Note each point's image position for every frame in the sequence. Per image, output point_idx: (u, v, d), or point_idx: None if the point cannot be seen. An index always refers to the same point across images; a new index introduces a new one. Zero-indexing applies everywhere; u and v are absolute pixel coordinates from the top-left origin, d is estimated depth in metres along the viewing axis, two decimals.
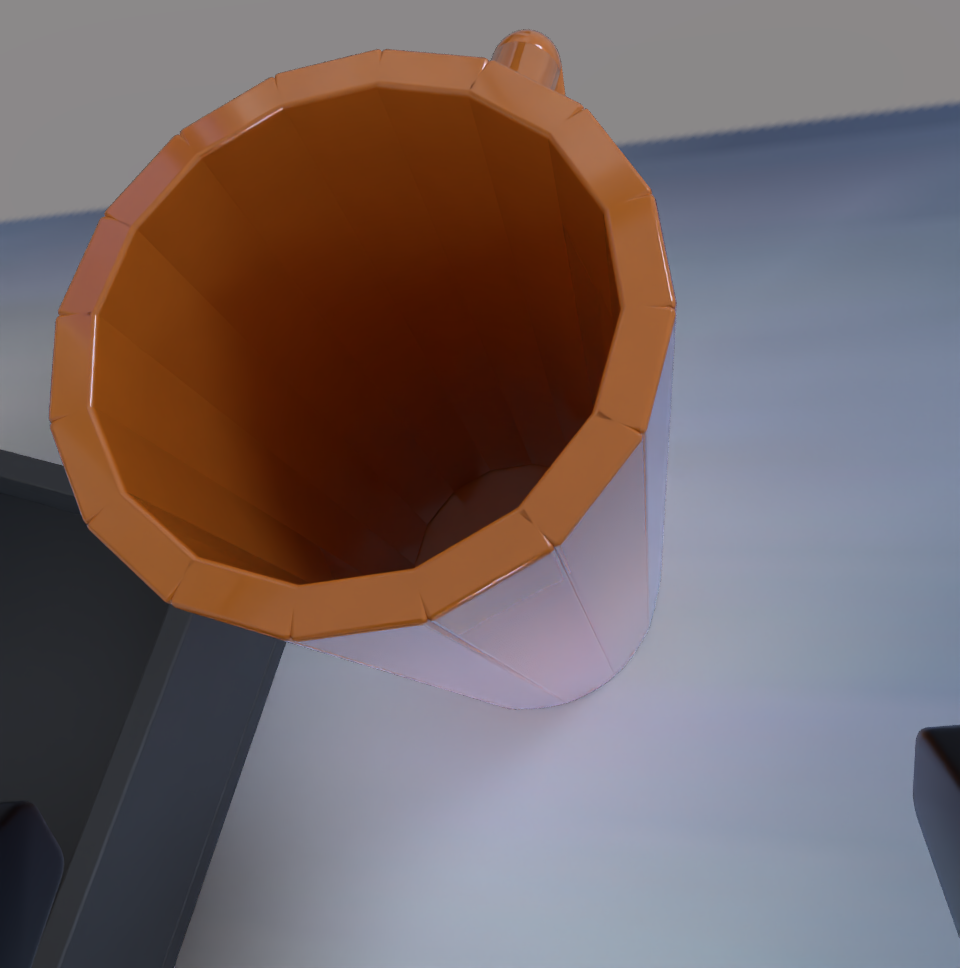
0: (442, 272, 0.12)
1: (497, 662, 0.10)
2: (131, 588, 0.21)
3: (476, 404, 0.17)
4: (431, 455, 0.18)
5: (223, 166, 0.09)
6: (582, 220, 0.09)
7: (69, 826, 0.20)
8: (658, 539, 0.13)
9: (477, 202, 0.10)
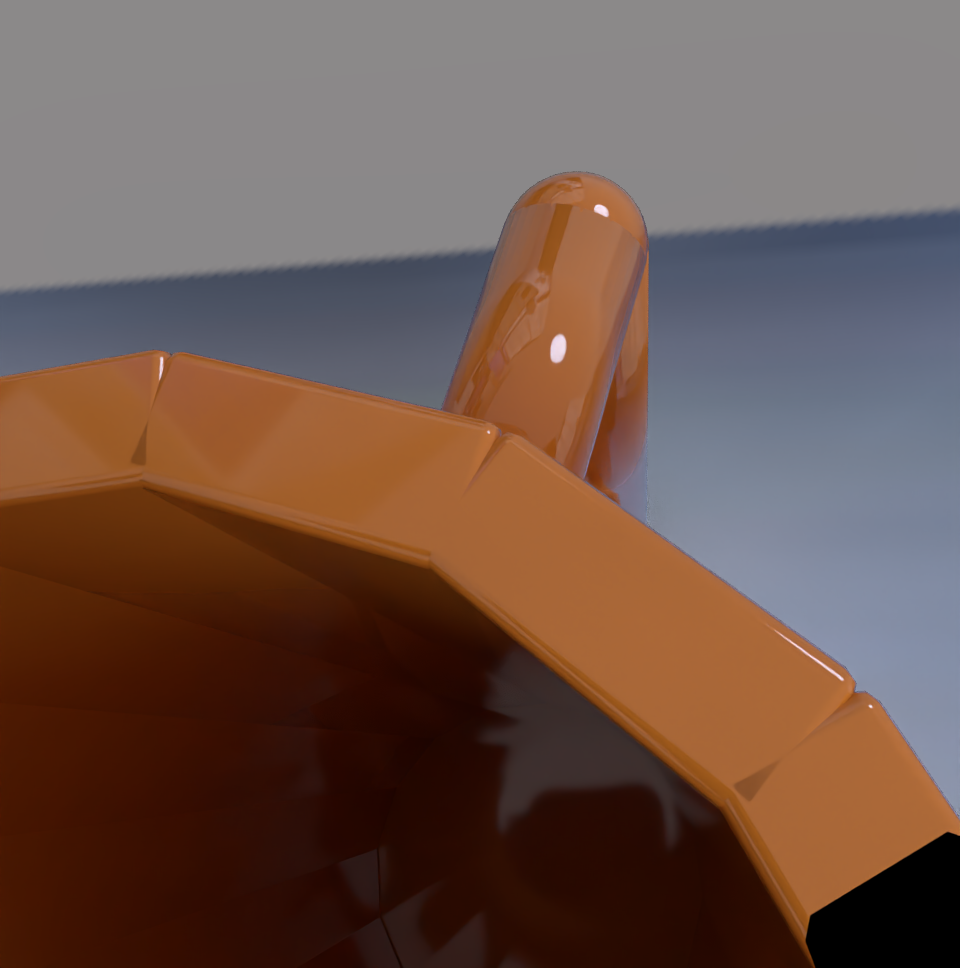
0: (399, 636, 0.06)
1: None
2: None
3: (467, 689, 0.11)
4: (399, 732, 0.12)
5: None
6: None
7: None
8: None
9: (464, 628, 0.04)
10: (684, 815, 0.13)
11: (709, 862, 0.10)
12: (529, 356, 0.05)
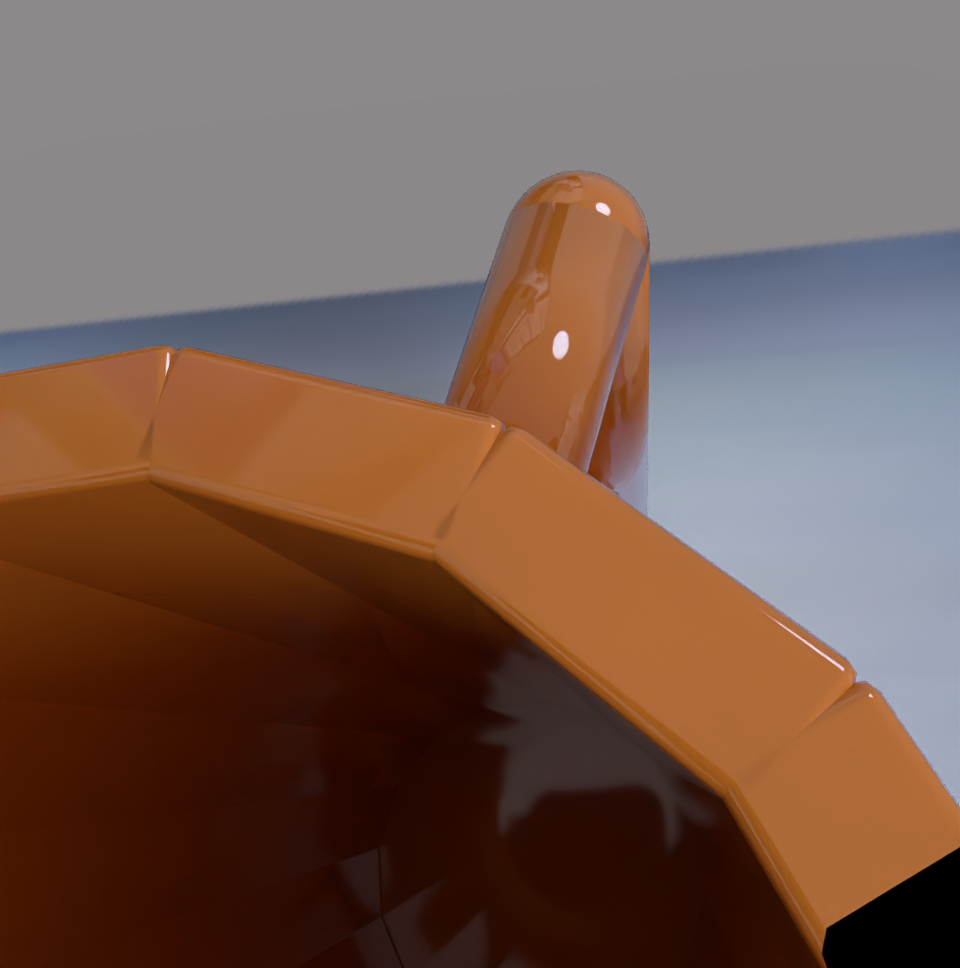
0: (401, 633, 0.06)
1: None
2: None
3: (468, 688, 0.11)
4: (400, 731, 0.12)
5: None
6: (805, 963, 0.03)
7: None
8: None
9: (466, 624, 0.04)
10: (685, 815, 0.13)
11: (710, 861, 0.10)
12: (531, 354, 0.05)
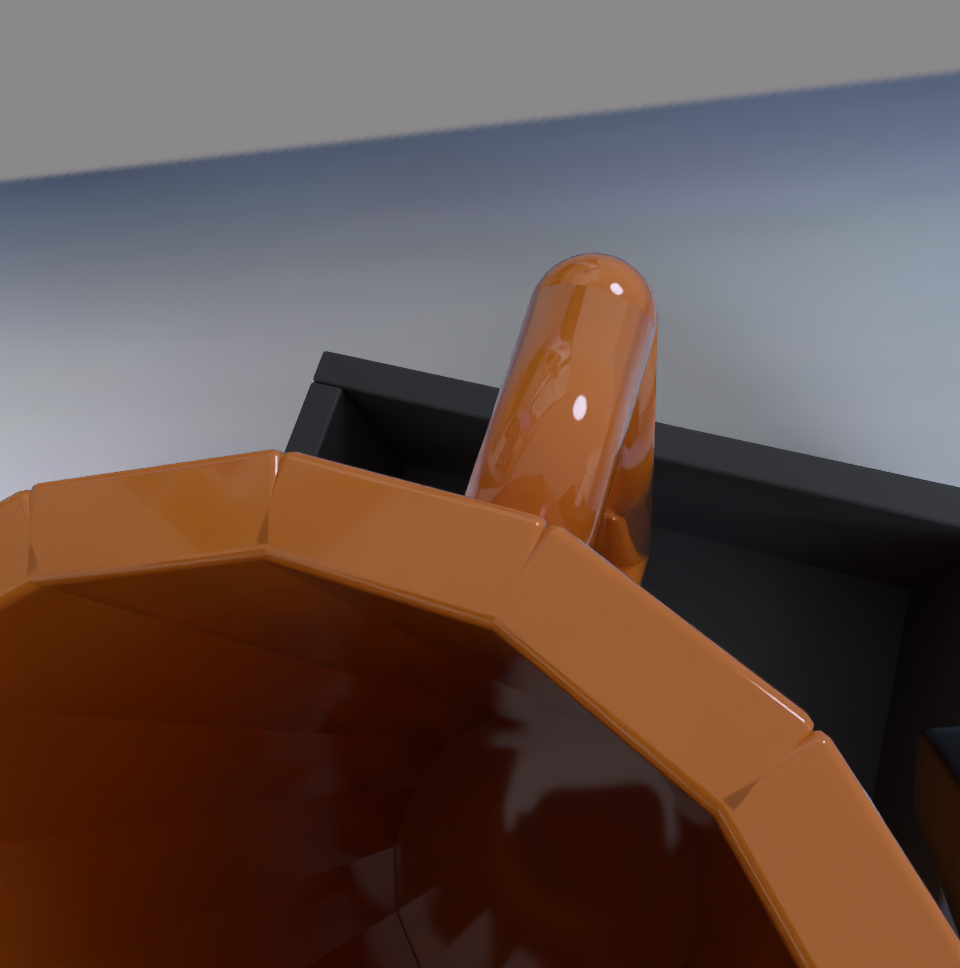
0: (432, 657, 0.07)
1: None
2: (684, 611, 0.16)
3: (483, 699, 0.11)
4: (418, 737, 0.13)
5: None
6: (776, 943, 0.03)
7: None
8: None
9: (500, 659, 0.05)
10: (685, 817, 0.14)
11: (708, 861, 0.11)
12: (554, 421, 0.06)
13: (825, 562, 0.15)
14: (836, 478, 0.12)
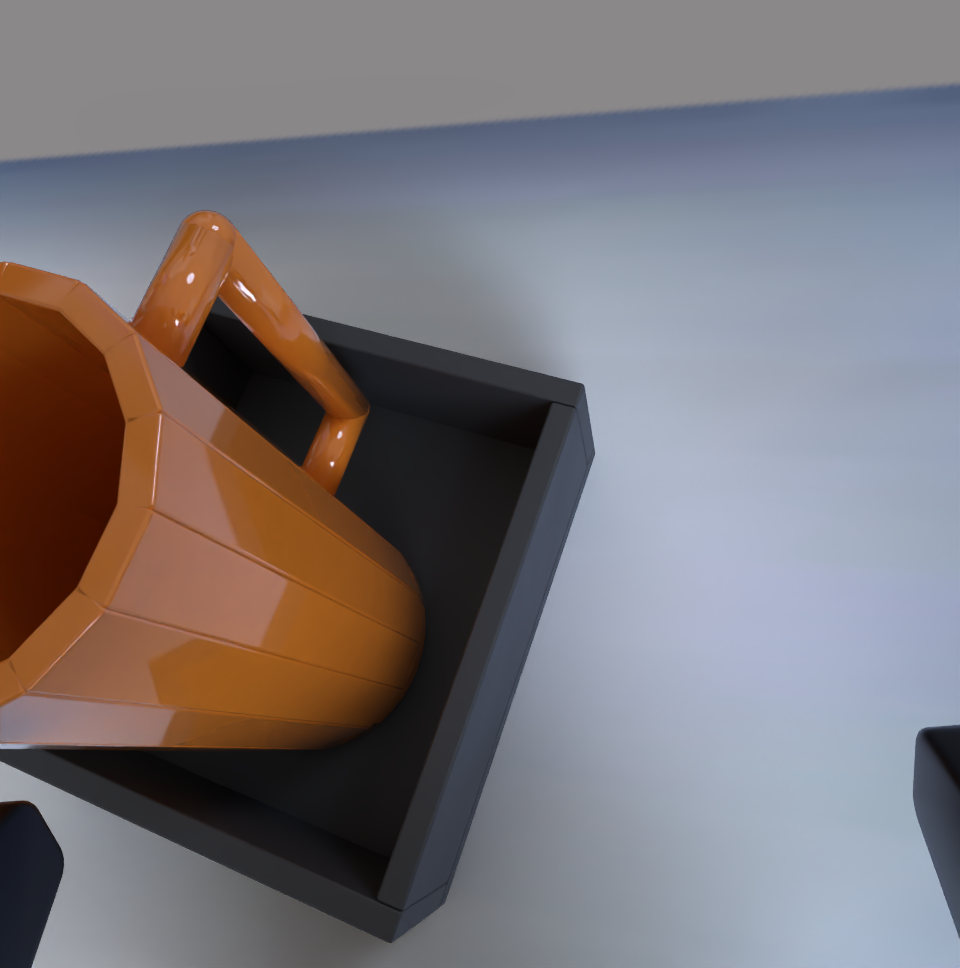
0: None
1: (112, 744, 0.12)
2: (423, 471, 0.23)
3: None
4: None
5: None
6: None
7: None
8: (334, 631, 0.16)
9: None
10: None
11: None
12: (168, 280, 0.13)
13: (510, 438, 0.23)
14: (469, 366, 0.20)
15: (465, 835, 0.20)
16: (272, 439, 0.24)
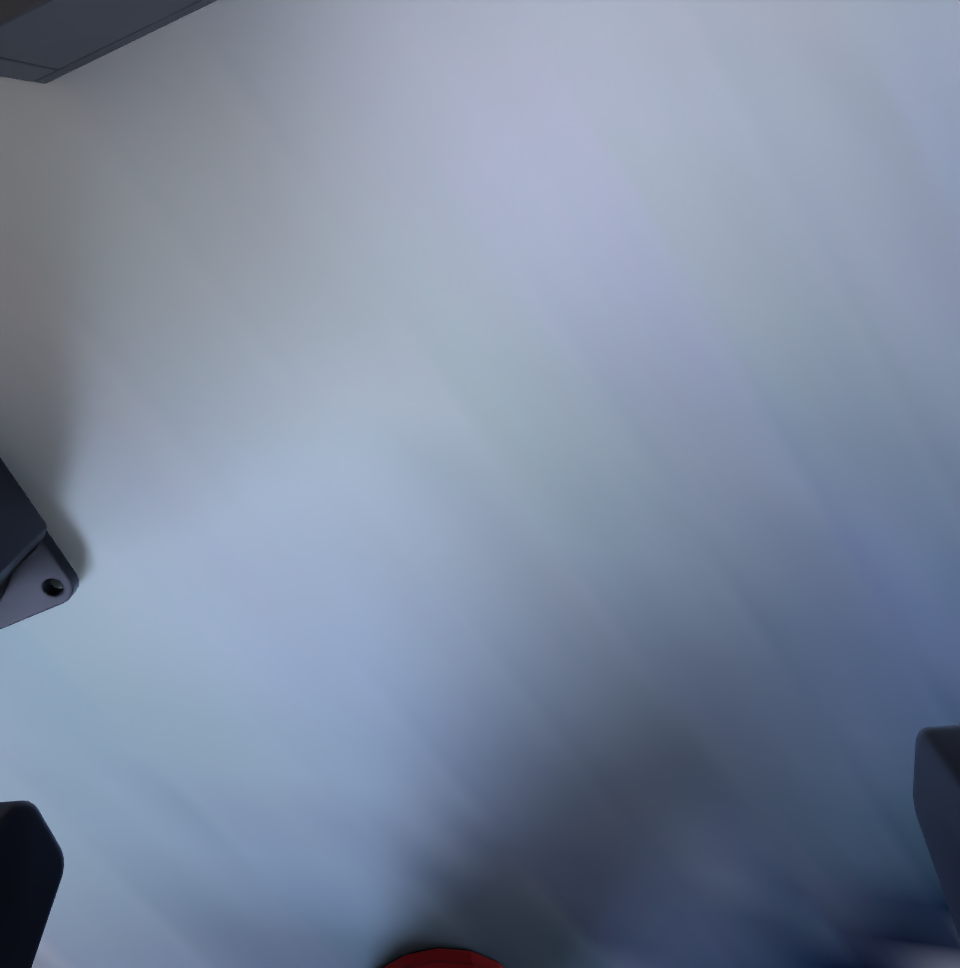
0: None
1: None
2: None
3: None
4: None
5: None
6: None
7: None
8: None
9: None
10: None
11: None
12: None
13: None
14: None
15: (108, 49, 0.17)
16: None
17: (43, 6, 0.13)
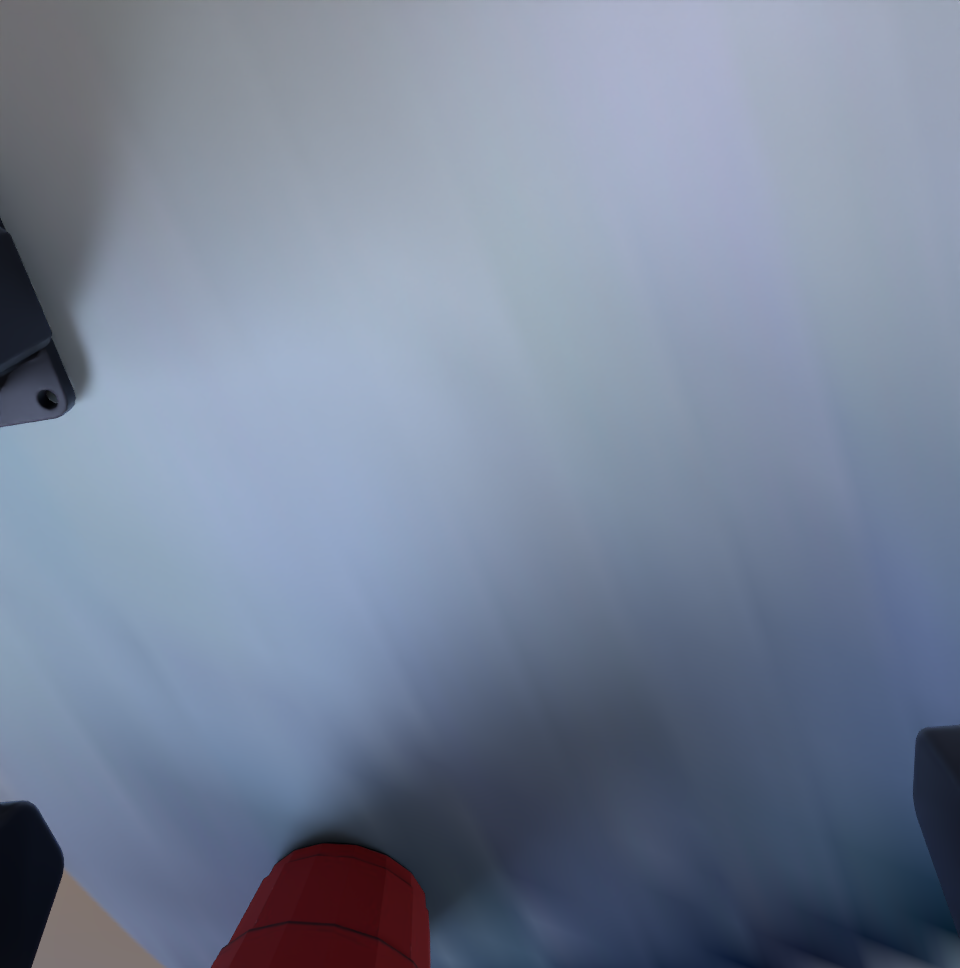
0: None
1: None
2: None
3: None
4: None
5: None
6: None
7: None
8: None
9: None
10: None
11: None
12: None
13: None
14: None
15: None
16: None
17: None
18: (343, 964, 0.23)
